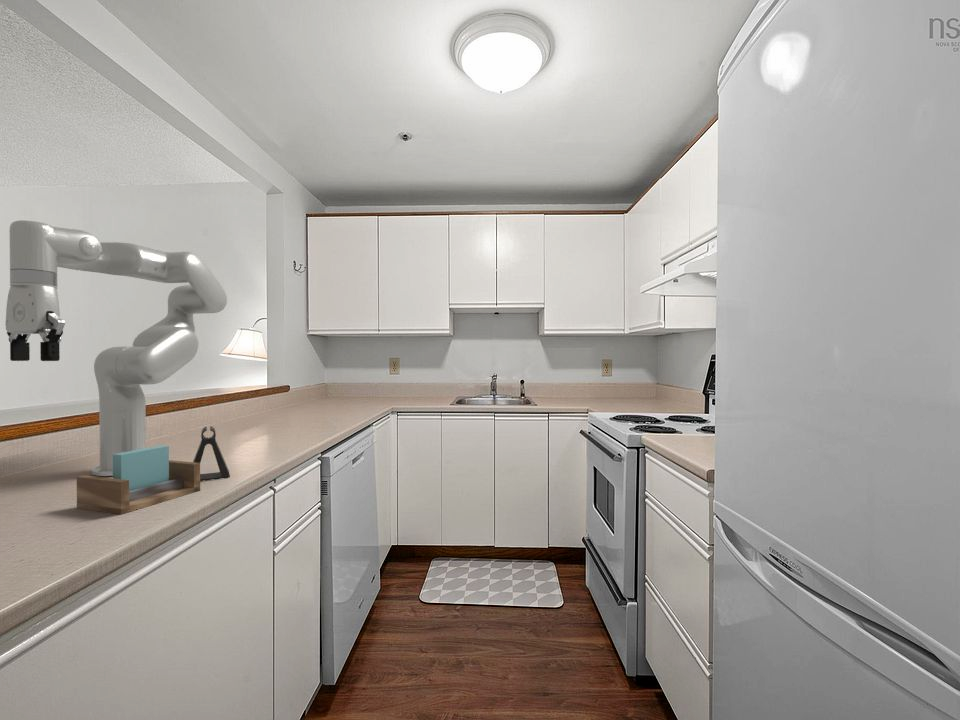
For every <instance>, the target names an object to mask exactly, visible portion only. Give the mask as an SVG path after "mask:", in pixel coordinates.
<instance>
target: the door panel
mask: <svg viewBox="0 0 960 720" xmlns="http://www.w3.org/2000/svg"><path fill="white" fill-rule="evenodd" d="M169 447H170V446H169V445H161V444H160V445H157V446H156V445H155V446H152V447H146V448H144V449H139V450H133V451H128V452H122V453H117V454H113V476H112V478H114V479H123V480H129V491H131V490H135V489H139V488H143V487H147V486H150V485H154V484H158V483H162V482H166V481H169V460H170V457H169V456H170V455H169V454H170V449H169Z"/></svg>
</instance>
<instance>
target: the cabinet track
mask: <svg viewBox="0 0 960 720" xmlns="http://www.w3.org/2000/svg"><path fill="white" fill-rule="evenodd" d="M200 474H201V462H200V463H195V462H193V461H182V460H171V459H169V481H166V482H162V483H158V484H154V485H150V486H147V487H143V488H139V489H135V490H131V491H129V480H123V479H114V478H113V477H106V476H95V475H87V474H86V475H84V474H83V475H80V476H76V509H80V508H83V509H82V510H87V509H90V510H89V511H94V510H95V512H101V511H102V513H108V512H109V514H115V513H116V515H124V514H127V513H130V511H131V512H133V511H137V510H141V509H144V508H146V506H147V507H150V505H151V506H154V505H156V504H159V503H160V504H161V503H163V502H167V501H170V500H172V499H173V498H174V499H176V498H180V497H182V496H187V495H190V494H193V493H197V492H200V491H201V481H200ZM153 504H154V505H153ZM143 507H144V508H143ZM140 508H141V509H140ZM136 509H137V510H136Z"/></svg>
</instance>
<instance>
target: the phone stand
mask: <svg viewBox="0 0 960 720" xmlns="http://www.w3.org/2000/svg"><path fill="white" fill-rule="evenodd" d="M209 429H210V430H209V431H210V432H212V433H213V434H212V435H211V436H209V437H208V436H207V437H206V436H205V434H204V433H205V432H207V430H208V428H207V426H204V427H203V428H202V430H201V435H200V436H201V441H200V443H199V445H198V448H197V450H196V452H195V455H194V458H193V461H192V462H195V463H200V464H201V462H202V458H203V455H204V452H205V448H206V446H208V445H211V448H212V450H213V454H214V457H215V460H216V464H217V466H218V470H219V471H218V472H209V473H200V482H203V481H202V480H205V481H211V480H210V479H215V480H220V479H219V478H224V479H229V478H231V475H230V470H229V467H228V465H227V463H226V460H225V458H224V456H223V453H222V451H221V448H220V447H219V444H218V442H217V439H216V436H217V435H216V434H217V433H216V429H215V428H214V426H210V427H209ZM228 477H229V478H228Z"/></svg>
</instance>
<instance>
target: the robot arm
mask: <svg viewBox="0 0 960 720" xmlns="http://www.w3.org/2000/svg"><path fill="white" fill-rule="evenodd" d="M8 232H9V286H10V287H9V290H8V294H7V300H6V308H5V310H6V311H5V330H6V334H7V336H8V342H9V354H10V355H9V356H10V357H9V359H10V361H12V362H23V361H24V362H25V361H26V362H28V361H30V358H31V357H30V356H31V355H30V353H31V351H30V342H28V340H29V338H30V337H31V335H32V334H33V335H34V334H35V335H39V336H40V338H41V340H42V341H40V342H39V343H40V344H39V345H40V346H39V347H40V349H39V350H40V351H39V352H40V353H39V354H40V355H39V356H40V361H42V362H58V361H60V357H61V356H60V352H61V351H60V343H61V342H62V336H63V334H64V327H65V325H66V322H65V319H62V318H61V317H60V315H61V313H60V312H61V311H60V302H59V295H58V268H62V269H67V270H73V271H80V272H81V271H82V272H92V273H99V274H105V275H112V276H123V277H128V278H129V277H130V278H134V279H141V280H145V281H152V282H158V283H162V284H178V283H179V284H184V283H185V285H181V286H177V287H175V288H173V289H172V290H171V291H170V292H169V294H168V297H167V314H166V316H165V317H163V318H162V319H161V320H160V321H158V322H156V323H155V324H153V325H152V326H150V327H148V328H146V329H145V330H143V331H142V332H140V333H138V334H137V335H136V337H135V338H134V340H133V342H132V346H113V347H109V348H107V349H105V350H102V351H101V352H99V354H98V355H96V357H95V360H94V365H93V371H94V376H95V381H96V383H97V389H98V401H99V402H98V403H99V405H98V406H99V411H98V413H99V415H98V416H99V417H98V418H99V466H96V467H94V468H91V475H92V476H97V477H113V454H117V453H122V452H128V451H133V450H139V449H144V448H147V442H146V441H147V438H146V437H147V434H146V433H147V432H146V431H147V429H146V428H147V427H146V425H147V423H146V422H147V421H146V420H147V419H146V418H147V416H146V415H147V413H146V409H147V408H146V405H147V404H146V396H145V393H144V391H143V388H142V387H141V386H142V385H145V386H147V385H156V384H159V383H163V381H166V380H167V379H169V378H170V377H172V375H173V376H174V374H176V373H177V372H178V371H180V370H181V369H182V368H183V367H184V366H186V365H188V363H189V362H191V361H192V360H193V359H194V357H196V354H197V352H198V350H199V339H198V336H197V335H196V333H195V331H196V329H195V328H196V327H195V322H194V314H195V315H196V314H197V315H199V314H200V315H201V314H217V313H220V312H221V311H223V310H224V309H225V308H226V306H227V302H228V299H227V298H228V297H227V294H226V291H225V289H224V287H223V286H222V285H221V283H220V282H219V280H218V279H217V277H216V276H215V275H214V273H213V272H212V271H211V269H210V268H209V267H208V265H207V264H206V263H205V261H204V260H203V259H201V257H199V256H198V255H197V254H195V253H194V252H191V251H176V252H174V251H173V252H168V251H167V252H166V251H163V250H159V249H154V248H150V247H145V246H144V245H143V246H142V245H139V244H136V243H130V242H116V241H115V242H114V241H113V242H105V241H104V242H103V241H102V242H100V240H99V239H98V238H97V237H96V236H95V235H93V234H92V233H90V232H88V231H85V230H81V229H77V228H76V229H75V228H64V227H57V226H52V225H51V224H48V223H45V222H40V221H34V220H20V219H19V220H15V221H13V222H11V223H10V226H9V231H8ZM187 283H188V285H187Z"/></svg>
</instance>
